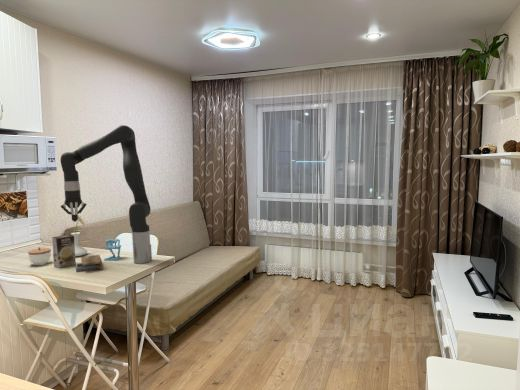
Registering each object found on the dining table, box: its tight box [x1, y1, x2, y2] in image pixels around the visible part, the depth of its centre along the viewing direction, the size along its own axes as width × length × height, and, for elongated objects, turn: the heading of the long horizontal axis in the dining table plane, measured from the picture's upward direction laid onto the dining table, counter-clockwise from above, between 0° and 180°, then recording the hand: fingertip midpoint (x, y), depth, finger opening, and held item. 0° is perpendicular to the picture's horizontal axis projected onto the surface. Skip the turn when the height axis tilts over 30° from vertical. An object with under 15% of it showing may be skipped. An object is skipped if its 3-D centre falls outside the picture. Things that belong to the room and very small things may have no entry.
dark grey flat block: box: [75, 262, 99, 273], centre depth 191 cm, size 10×8×2 cm
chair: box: [103, 238, 122, 262], centre depth 210 cm, size 8×8×12 cm
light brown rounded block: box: [80, 254, 103, 271], centre depth 193 cm, size 9×16×5 cm, turn 28°
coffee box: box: [51, 234, 77, 269], centre depth 198 cm, size 9×6×16 cm
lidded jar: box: [27, 247, 52, 266], centre depth 202 cm, size 11×11×9 cm
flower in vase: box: [70, 214, 88, 257], centre depth 219 cm, size 13×11×25 cm
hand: (75, 221), depth 197 cm, fingers closed
